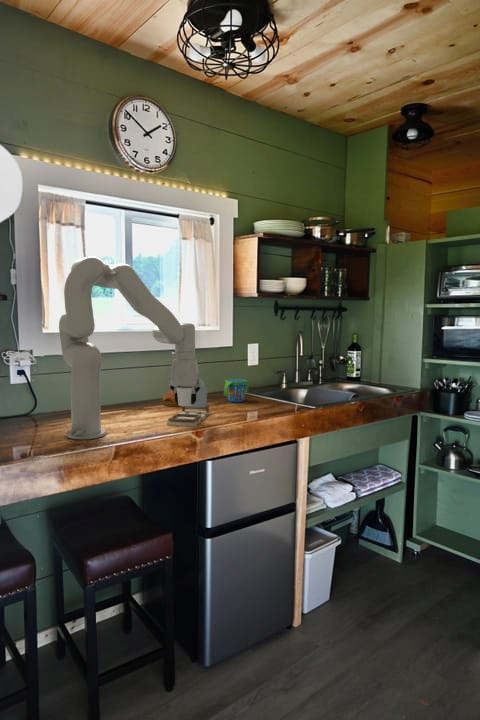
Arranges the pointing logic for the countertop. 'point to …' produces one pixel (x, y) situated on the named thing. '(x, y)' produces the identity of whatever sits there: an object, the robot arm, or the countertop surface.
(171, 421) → the jig board
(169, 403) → the croissant
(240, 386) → the snack cup
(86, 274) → the robot arm
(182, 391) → the white tapered cup
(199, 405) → the flap
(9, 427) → the countertop surface
